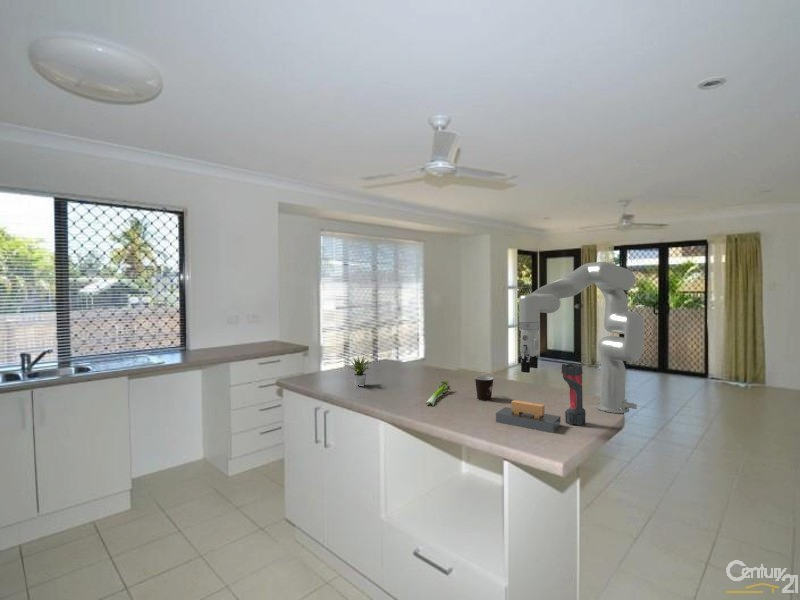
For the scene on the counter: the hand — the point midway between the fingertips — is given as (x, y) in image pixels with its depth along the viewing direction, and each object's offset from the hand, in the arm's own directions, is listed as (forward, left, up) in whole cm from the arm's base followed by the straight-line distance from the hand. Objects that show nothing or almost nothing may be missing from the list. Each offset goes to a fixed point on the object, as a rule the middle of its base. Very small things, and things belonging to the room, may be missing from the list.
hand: (529, 369), depth 163 cm
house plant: (+94, -8, -21) cm, 97 cm away
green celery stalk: (+48, -11, -21) cm, 53 cm away
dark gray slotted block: (0, +2, -21) cm, 21 cm away
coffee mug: (+28, -23, -21) cm, 42 cm away
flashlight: (-14, -8, -21) cm, 26 cm away
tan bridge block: (0, +2, -21) cm, 21 cm away
